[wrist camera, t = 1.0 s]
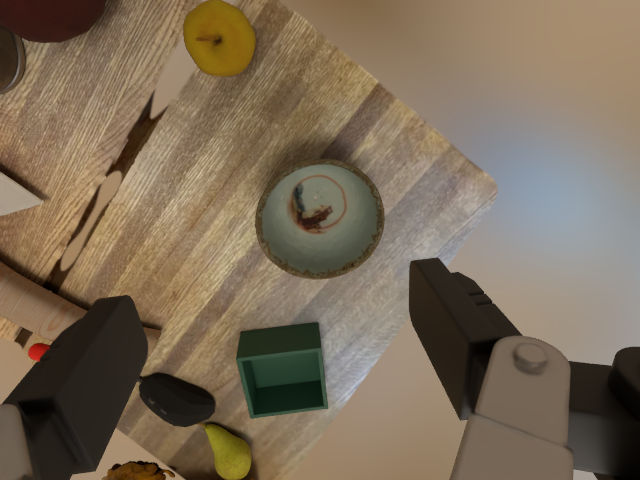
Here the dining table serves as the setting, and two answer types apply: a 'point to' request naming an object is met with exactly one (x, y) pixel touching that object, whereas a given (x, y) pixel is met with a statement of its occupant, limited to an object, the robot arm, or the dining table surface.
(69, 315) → the axe
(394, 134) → the dining table surface
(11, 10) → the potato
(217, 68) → the apple
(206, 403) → the gaming mouse
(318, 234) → the bowl
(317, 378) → the bin
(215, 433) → the fruit
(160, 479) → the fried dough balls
